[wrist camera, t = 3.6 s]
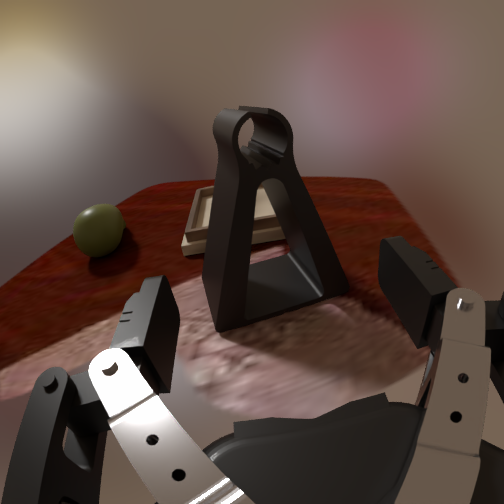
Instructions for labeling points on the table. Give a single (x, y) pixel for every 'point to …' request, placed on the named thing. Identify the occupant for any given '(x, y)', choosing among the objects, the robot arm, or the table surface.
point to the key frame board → (199, 217)
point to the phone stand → (242, 221)
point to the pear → (98, 230)
